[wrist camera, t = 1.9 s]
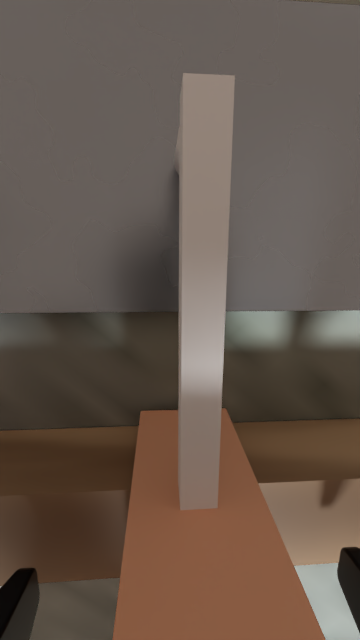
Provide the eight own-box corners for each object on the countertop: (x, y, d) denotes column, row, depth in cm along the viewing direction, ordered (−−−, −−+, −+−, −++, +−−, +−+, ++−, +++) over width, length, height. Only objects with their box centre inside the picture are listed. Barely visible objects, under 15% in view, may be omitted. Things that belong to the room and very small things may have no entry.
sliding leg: (220, 520, 11) (307, 893, 5) (143, 524, 11) (120, 921, 4) (236, 161, 9) (501, -162, 2) (133, 158, 8) (35, -213, 2)
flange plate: (457, 304, 11) (489, 309, 10) (-134, 308, 9) (-172, 314, 8) (513, 44, 9) (560, 16, 8) (-206, 2, 7) (-265, -39, 6)
